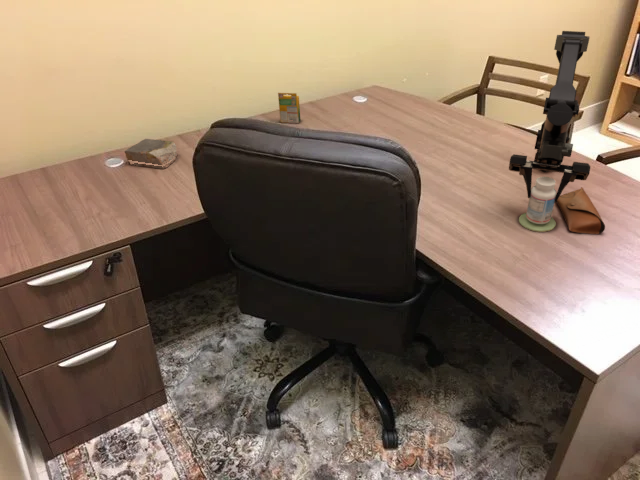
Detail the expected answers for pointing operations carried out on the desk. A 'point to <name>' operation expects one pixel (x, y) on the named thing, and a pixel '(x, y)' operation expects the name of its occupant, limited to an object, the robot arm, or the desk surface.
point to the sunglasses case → (580, 213)
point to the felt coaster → (534, 226)
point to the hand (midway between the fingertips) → (542, 199)
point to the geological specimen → (152, 153)
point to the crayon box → (289, 107)
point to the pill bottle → (541, 201)
